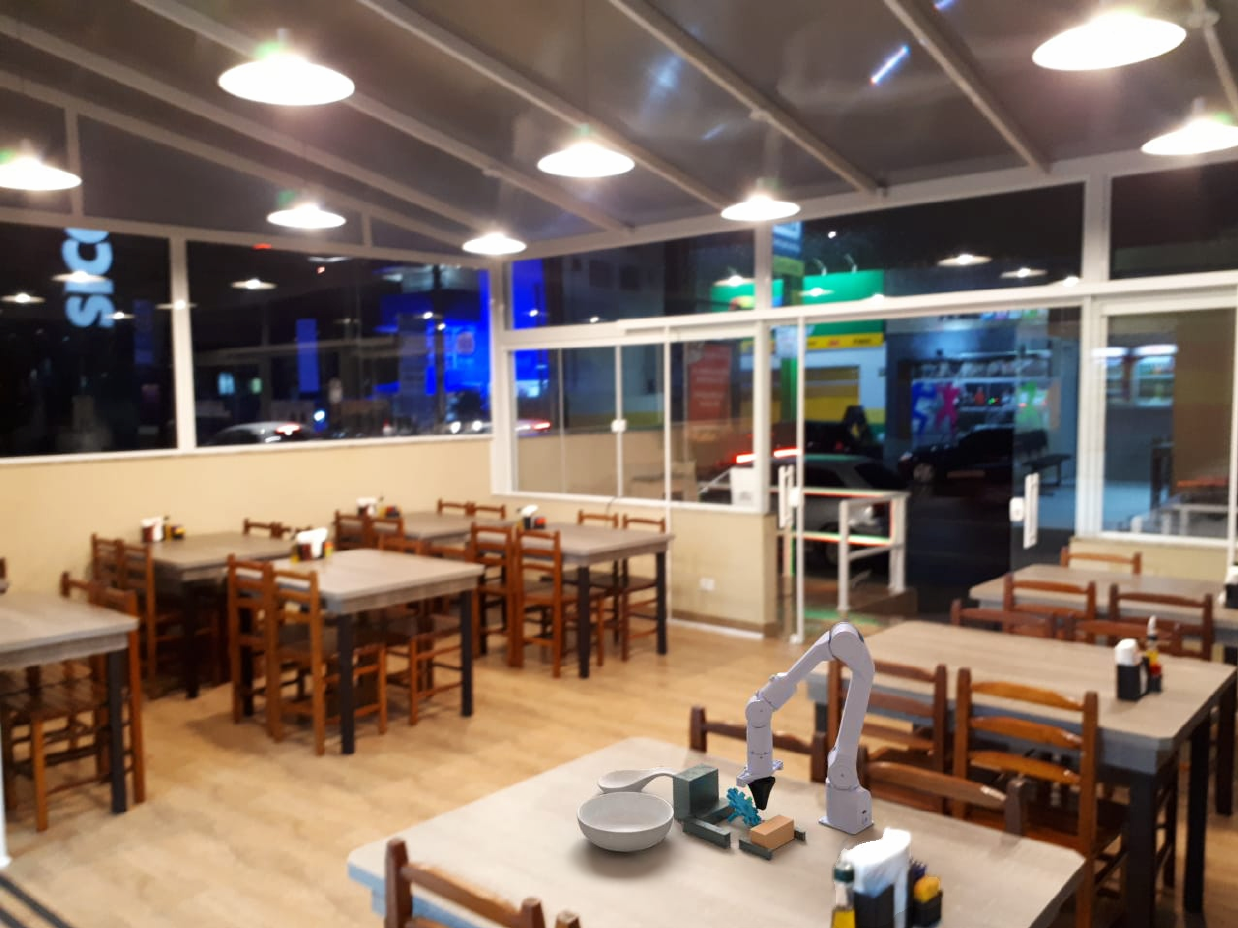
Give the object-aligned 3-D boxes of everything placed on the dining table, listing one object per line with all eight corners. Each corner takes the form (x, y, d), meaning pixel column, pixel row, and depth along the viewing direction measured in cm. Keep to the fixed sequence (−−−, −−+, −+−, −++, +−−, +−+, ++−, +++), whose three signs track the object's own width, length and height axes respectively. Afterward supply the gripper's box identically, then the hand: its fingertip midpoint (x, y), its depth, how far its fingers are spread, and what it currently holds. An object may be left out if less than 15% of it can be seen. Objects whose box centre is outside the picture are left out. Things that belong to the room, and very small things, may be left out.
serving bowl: (667, 867, 194) (666, 834, 193) (567, 860, 198) (566, 828, 197) (680, 823, 214) (680, 793, 214) (590, 817, 218) (589, 788, 218)
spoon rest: (591, 800, 228) (590, 771, 227) (607, 782, 239) (606, 754, 239) (687, 811, 220) (686, 781, 220) (699, 791, 231) (698, 762, 231)
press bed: (805, 839, 204) (804, 794, 203) (762, 864, 194) (761, 816, 193) (706, 803, 224) (705, 761, 223) (663, 823, 214) (661, 779, 213)
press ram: (794, 837, 204) (793, 819, 204) (765, 853, 197) (765, 835, 197) (779, 832, 207) (778, 814, 207) (750, 847, 200) (749, 829, 200)
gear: (755, 829, 206) (724, 791, 209) (736, 845, 207) (706, 808, 211) (769, 815, 216) (740, 779, 219) (751, 831, 217) (722, 795, 221)
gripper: (765, 737, 223) (766, 793, 223) (725, 754, 213) (726, 813, 214) (790, 744, 217) (791, 802, 218) (750, 762, 208) (751, 822, 208)
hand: (760, 808), depth 216 cm, fingers closed
